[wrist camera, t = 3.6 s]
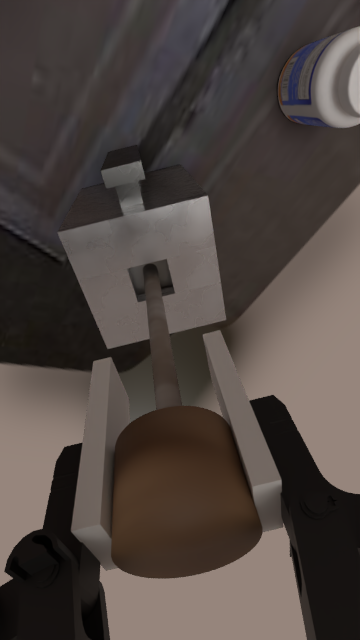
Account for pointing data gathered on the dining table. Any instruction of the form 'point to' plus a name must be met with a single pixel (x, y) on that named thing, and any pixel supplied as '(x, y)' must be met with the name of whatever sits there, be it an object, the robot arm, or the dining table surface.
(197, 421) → the plunger
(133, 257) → the grey block with hole
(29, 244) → the dining table surface
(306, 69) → the pill bottle
